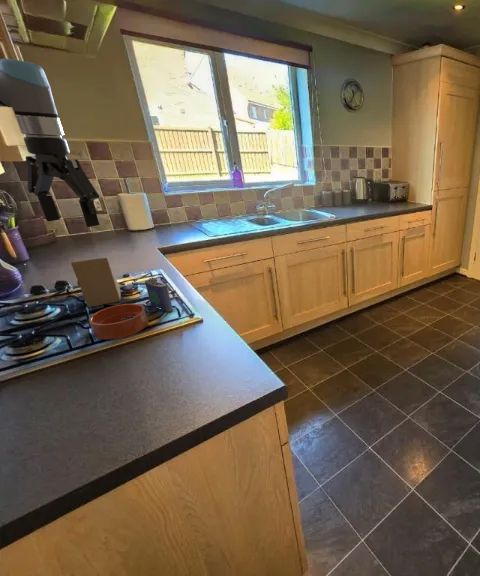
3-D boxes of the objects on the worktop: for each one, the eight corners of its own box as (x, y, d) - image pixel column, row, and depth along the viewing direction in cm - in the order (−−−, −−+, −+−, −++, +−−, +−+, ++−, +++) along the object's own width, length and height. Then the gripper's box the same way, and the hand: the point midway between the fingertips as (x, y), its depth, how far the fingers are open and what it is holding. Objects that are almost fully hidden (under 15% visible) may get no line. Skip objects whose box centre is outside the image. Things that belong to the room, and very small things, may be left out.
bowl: (83, 337, 88) (76, 320, 86) (125, 315, 99) (120, 301, 97) (119, 344, 85) (114, 328, 83) (159, 322, 96) (155, 307, 94)
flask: (175, 310, 103) (167, 279, 98) (165, 314, 100) (157, 282, 96) (157, 303, 107) (149, 273, 102) (148, 307, 104) (138, 275, 100)
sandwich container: (120, 284, 118) (107, 244, 112) (121, 300, 107) (107, 257, 101) (89, 290, 113) (74, 248, 107) (87, 307, 102) (70, 262, 96)
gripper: (101, 140, 81) (124, 225, 89) (24, 134, 85) (53, 215, 94) (68, 139, 74) (96, 231, 82) (-14, 133, 79) (21, 220, 87)
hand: (73, 223), depth 88 cm, fingers open, 13 cm apart
